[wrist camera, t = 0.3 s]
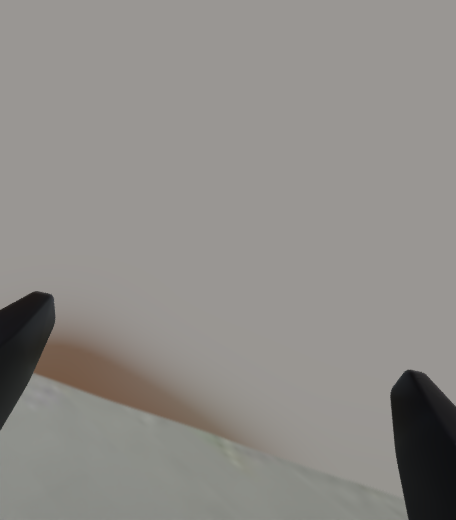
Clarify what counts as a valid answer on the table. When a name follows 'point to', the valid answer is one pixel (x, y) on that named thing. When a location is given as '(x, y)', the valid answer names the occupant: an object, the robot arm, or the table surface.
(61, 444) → the table surface
